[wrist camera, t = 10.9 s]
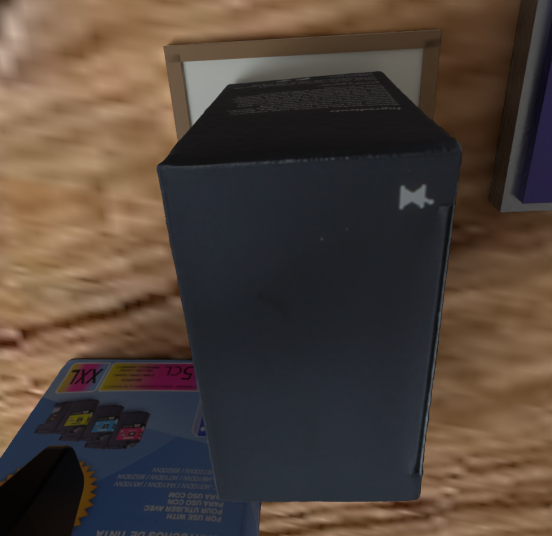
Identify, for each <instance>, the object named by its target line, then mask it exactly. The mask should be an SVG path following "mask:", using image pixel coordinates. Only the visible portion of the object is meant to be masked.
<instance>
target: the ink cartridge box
mask: <svg viewBox="0 0 552 536" xmlns="http://www.w3.org/2000/svg"><path fill="white" fill-rule="evenodd" d="M51 445H70V446H72V447H73V448H74V450H75V452H76V455H77V458H78V460H79V463H80V466H81V469H82V471H83V474H84V489H83V493H82V497H81V501H80V505H79V508H78V512H77V516H76V520H75V524H74V527H73V531H72V535H71V536H259V523H260V510H261V501H255V502H242V501H236V502H232V501H222V500H219V499H218V496H217V492H216V487H215V482H214V478H213V473H212V465H211V461H210V455H209V448H208V444H207V439H206V432H205V427H204V422H203V416H202V409H201V404H200V399H199V394H198V388H197V382H196V377H195V372H194V366H193V360H118V359H73V360H69V361H68V362H67V363H66V364H65V366H64V367H63V368H62V369H61V370H60V372H59V374H58V375H57V377H56V378H55V379H54V381H53V382H52V384H51V385H50V387H49V388H48V390H47V391H46V393H45V394H44V396H43V397H42V398H41V400H40V401H39V403H38V404H37V406H36V407H35V408H34V410H33V411H32V412H31V414H30V416H29V417H28V419H27V420H26V422H25V423H24V424H23V426H22V427H21V429H20V430H19V431H18V433H17V434H16V436H15V437H14V439H13V440H12V442H11V443H10V445H9V446H8V448H7V449H6V451H5V452H4V454H3V455H2V457H1V458H0V486H1V485H2V484H3V483H5V482H6V481H7V480H8V479H9V478H10V477H12V476H13V475H14V474H15V473H16V472H17V471H19V470H20V469H21V468H22V467H23V466H24V465H26V464H27V463H28V462H29V461H30V460H31V459H33V458H34V457H35V456H36V455H37V454H38V453H40V452H41V451H42V450H43V449H44V448H46V447H48V446H51Z"/></svg>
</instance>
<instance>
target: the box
mask: <svg viewBox="0 0 552 536" xmlns="http://www.w3.org/2000/svg"><path fill="white" fill-rule="evenodd" d="M461 162H462V147H461V145H460V143H459V142H458V141H457V140H456V139H455V138H454V137H451V136H450V135H449V134H448V133H446V132H445V131H444V130H443V129H442V128H441V127H439V126H438V125H437V124H435V122H434V121H433V120H431V119H430V118H428V117H427V116H426V115H425V114H424V112H423V111H422V110H421V109H420V108H418V107H417V106H416V105H415V104H414V103H413V102H412V101H411V100H410V99H409V98H408V97H407V96H406V95H405V94H403V93H402V91H401V90H400V89H399V88H397V87H396V85H395V84H394V83H393V82H392V81H391V80H390V79H389V78H388V77H387V76H386V75H385V74H384V73H383V72H381V71H375V72H364V73H349V74H339V75H327V76H313V77H301V78H293V79H283V80H270V81H261V82H250V83H237V84H229V85H227V86H226V87H225V88H224V89H223V91H222V92H221V93H220V94H219V95H218V97H217V98H216V99H215V100H214V101H213V102H212V103H211V105H210V106H209V107H208V108H207V109H206V110H205V111H204V113H203V114H202V115H201V116H200V118H199V119H198V120H197V121H196V122H195V123H194V125H193V126H192V127H191V128H190V129H189V130H188V131H187V133H186V134H185V135H184V136H183V137H182V138H181V139H180V140H179V141H178V142H177V144H176V145H175V146H174V147H173V149H172V150H171V152H170V154H169V155H168V156H167V158H166V159H165V160H164V161H163V162H161V163H160V164H158V165H157V173H158V177H159V183H160V189H161V192H162V199H163V205H164V211H165V217H166V224H167V229H168V233H169V241H170V245H171V250H172V255H173V259H174V264H175V269H176V274H177V280H178V286H179V291H180V296H181V301H182V306H183V310H184V316H185V321H186V327H187V333H188V338H189V343H190V349H191V354H192V360H193V366H194V372H195V377H196V382H197V388H198V394H199V399H200V404H201V409H202V416H203V422H204V427H205V432H206V439H207V444H208V448H209V455H210V461H211V465H212V473H213V478H214V482H215V487H216V492H217V496H218V499H219V500H222V501H232V502H236V501H242V502H255V501H263V502H278V501H279V502H292V501H299V502H309V501H323V502H368V501H369V502H377V501H383V502H385V501H410V500H417V499H418V498H419V497H420V493H421V480H422V476H423V461H424V451H425V441H426V432H427V427H428V422H429V409H430V404H431V395H432V385H433V379H434V374H435V367H436V357H437V352H438V343H439V331H440V325H441V318H442V308H443V301H444V290H445V282H446V275H447V268H448V259H449V253H450V244H451V237H452V229H453V219H454V210H455V203H456V194H457V187H458V182H459V175H460V166H461Z"/></svg>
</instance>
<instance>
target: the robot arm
mask: <svg viewBox="0 0 552 536" xmlns="http://www.w3.org/2000/svg"><path fill="white" fill-rule="evenodd" d="M83 489H84V474H83V471H82V469H81V466H80V463H79V460H78V458H77V455H76V452H75V450H74V448H73V447H72V446H70V445H51V446H48V447H46V448H44V449H43V450H42V451H41V452H40V453H38V454H37V455H36V456H35V457H34V458H33V459H31V460H30V461H29V462H28V463H27V464H26V465H24V466H23V467H22V468H21V469H20V470H19V471H17V472H16V473H15V474H14V475H13V476H12V477H10V478H9V479H8V480H7V481H6V482H5V483H3V484H2V485H1V486H0V536H71V535H72V531H73V527H74V524H75V520H76V516H77V512H78V508H79V505H80V501H81V497H82V493H83Z"/></svg>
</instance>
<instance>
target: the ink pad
mask: <svg viewBox="0 0 552 536" xmlns="http://www.w3.org/2000/svg"><path fill="white" fill-rule="evenodd" d="M489 201H490V202H491V203H492V204H493V205H494V206H495V207H496V208H497V209H498V210H499V212H523V211H550V210H552V0H522V1H521V7H520V13H519V19H518V25H517V31H516V37H515V43H514V50H513V56H512V62H511V68H510V74H509V80H508V86H507V92H506V98H505V104H504V110H503V116H502V122H501V129H500V135H499V141H498V147H497V153H496V159H495V165H494V171H493V177H492V183H491V189H490V195H489Z"/></svg>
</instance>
